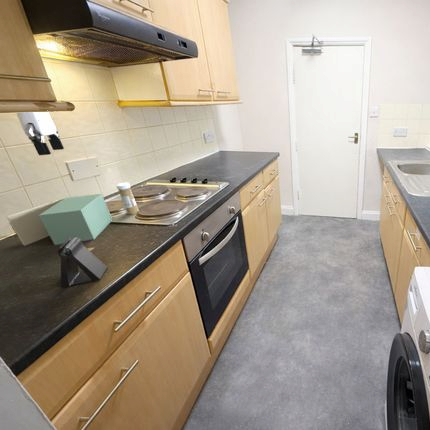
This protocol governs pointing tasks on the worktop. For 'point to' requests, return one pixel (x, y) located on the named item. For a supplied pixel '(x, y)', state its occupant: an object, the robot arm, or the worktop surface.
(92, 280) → the phone stand
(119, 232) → the worktop surface
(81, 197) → the teal rectangular block
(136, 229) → the worktop surface
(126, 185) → the sprinkles bottle
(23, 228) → the door
